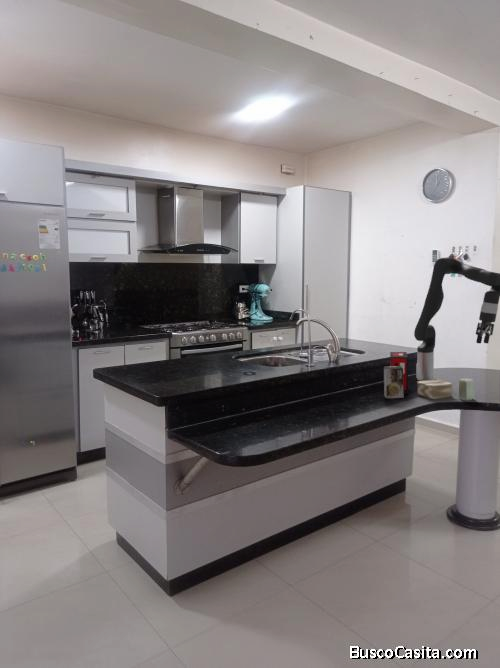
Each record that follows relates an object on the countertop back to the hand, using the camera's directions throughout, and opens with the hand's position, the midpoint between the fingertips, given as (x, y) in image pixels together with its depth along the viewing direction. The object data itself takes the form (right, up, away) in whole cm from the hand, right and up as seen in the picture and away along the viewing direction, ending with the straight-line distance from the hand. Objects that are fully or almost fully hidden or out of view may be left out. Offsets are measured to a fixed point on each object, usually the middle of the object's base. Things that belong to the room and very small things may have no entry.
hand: (482, 343), depth 248 cm
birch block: (-21, -28, +9) cm, 36 cm away
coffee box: (-43, -29, +9) cm, 52 cm away
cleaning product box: (-35, -27, +24) cm, 50 cm away
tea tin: (-9, -28, -1) cm, 30 cm away
